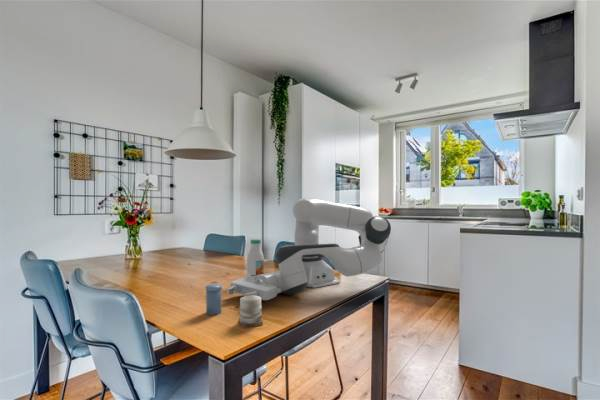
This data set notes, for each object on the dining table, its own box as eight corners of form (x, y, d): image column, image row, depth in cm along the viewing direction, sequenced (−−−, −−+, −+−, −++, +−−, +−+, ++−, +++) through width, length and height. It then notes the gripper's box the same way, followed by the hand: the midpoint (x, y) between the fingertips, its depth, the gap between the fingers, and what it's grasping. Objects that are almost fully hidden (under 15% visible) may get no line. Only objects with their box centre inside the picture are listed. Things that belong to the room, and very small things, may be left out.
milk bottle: (249, 286, 135) (249, 240, 135) (245, 282, 142) (245, 238, 142) (266, 284, 138) (266, 239, 138) (261, 280, 145) (261, 238, 145)
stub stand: (258, 317, 98) (258, 294, 98) (264, 325, 92) (264, 300, 92) (237, 320, 95) (237, 296, 95) (241, 328, 89) (241, 303, 89)
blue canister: (220, 309, 105) (220, 283, 105) (222, 314, 100) (222, 287, 101) (204, 311, 103) (205, 284, 103) (206, 316, 98) (206, 288, 99)
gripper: (284, 298, 112) (256, 309, 102) (247, 289, 125) (219, 297, 115) (284, 281, 112) (256, 290, 102) (247, 274, 125) (219, 280, 115)
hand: (236, 294), depth 108 cm, fingers open, 8 cm apart
